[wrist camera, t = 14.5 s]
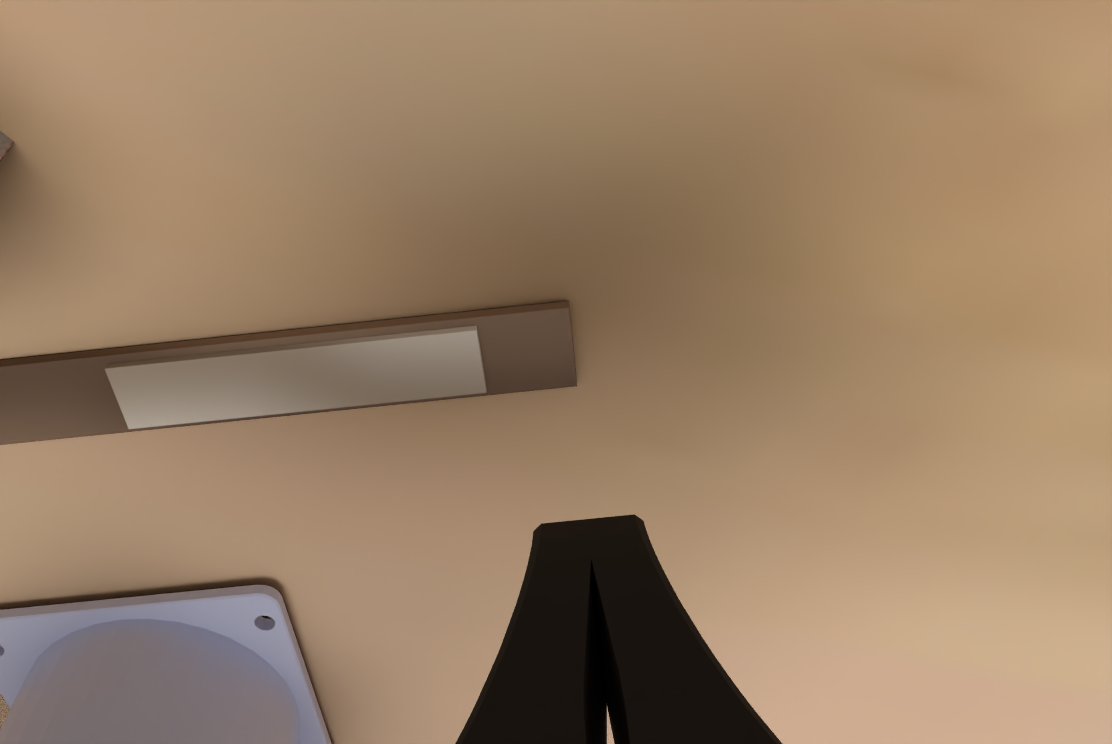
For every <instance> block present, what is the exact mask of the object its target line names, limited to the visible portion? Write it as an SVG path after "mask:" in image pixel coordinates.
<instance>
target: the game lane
mask: <svg viewBox="0 0 1112 744" xmlns="http://www.w3.org/2000/svg"><path fill="white" fill-rule="evenodd" d="M573 386H577V378H576V369H575V359H574V350H573V340H572V331H571V321H570V312H569V302H568V301H563V302H554V303H544V304H534V305H525V306H515V307H506V308H496V309H486V310H477V311H467V312H458V313H448V314H438V315H429V316H419V317H409V318H400V319H390V320H381V321H371V322H361V323H352V324H342V325H333V326H323V327H313V328H304V329H294V330H284V331H275V332H265V333H256V334H246V335H236V336H227V337H217V338H208V339H198V340H188V341H179V342H169V343H159V344H150V345H140V346H131V347H121V348H111V349H102V350H92V351H83V352H73V353H63V354H54V355H44V356H34V357H25V358H15V359H6V360H0V445H5V444H14V443H24V442H34V441H44V440H54V439H63V438H73V437H83V436H93V435H103V434H112V433H122V432H132V431H142V430H152V429H161V428H171V427H181V426H191V425H201V424H210V423H220V422H230V421H240V420H250V419H259V418H269V417H279V416H289V415H299V414H308V413H318V412H328V411H338V410H348V409H357V408H367V407H377V406H387V405H397V404H406V403H416V402H426V401H436V400H446V399H455V398H465V397H475V396H485V395H495V394H504V393H514V392H524V391H534V390H544V389H553V388H563V387H573Z"/></svg>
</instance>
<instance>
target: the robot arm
mask: <svg viewBox="0 0 1112 744" xmlns="http://www.w3.org/2000/svg"><path fill="white" fill-rule="evenodd" d="M261 616H269V617H271V618H272V619H266V618H263V617H261ZM0 693H1V695H2V697H3V698H4V700H5V702H6V703H7V705H8V707H9V709H10V710H9V712H8V714H7V716H6V718H5V720H4V722H3V724H2V726H1V728H0V744H331V741H330V738H329V735H328V732H327V729H326V726H325V723H324V720H323V717H322V714H321V711H320V708H319V705H318V702H317V699H316V696H315V693H314V690H313V687H312V684H311V681H310V678H309V675H308V672H307V669H306V666H305V663H304V660H303V658H302V655H301V652H300V649H299V646H298V643H297V640H296V637H295V634H294V631H293V628H292V625H291V622H290V619H289V616H288V613H287V610H286V607H285V604H284V601H283V598H282V596H281V594H280V593H279V592H278V591H277V590H276V589H274V588H273V587H270V586H267V585H249V586H239V587H228V588H218V589H208V590H198V591H188V592H178V593H167V594H157V595H147V596H137V597H127V598H116V599H106V600H96V601H86V602H76V603H66V604H55V605H45V606H35V607H25V608H15V609H5V610H0ZM607 707H608V712H609V717H610V723H611V728H612V733H613V738H614V743H615V744H782V743H781V742H780V740H779V739H778V738H777V737H776V736H775V734H774V733H773V732H772V731H771V730H770V728H769V727H768V726H767V725H766V724H765V722H764V721H763V720H762V719H761V718H760V716H759V715H758V714H757V713H756V711H755V710H754V709H753V708H752V706H751V705H750V704H749V703H748V701H747V700H746V699H745V697H744V696H743V695H742V693H741V692H740V691H739V689H738V688H737V687H736V685H735V684H734V683H733V681H732V680H731V678H730V677H729V676H728V674H727V673H726V671H725V670H724V669H723V667H722V666H721V664H720V663H719V662H718V660H717V659H716V657H715V656H714V654H713V653H712V651H711V650H710V648H709V647H708V645H707V644H706V642H705V641H704V639H703V638H702V636H701V635H700V633H699V631H698V630H697V628H696V627H695V625H694V623H693V622H692V620H691V618H690V617H689V615H688V614H687V612H686V610H685V609H684V607H683V605H682V604H681V602H680V600H679V599H678V597H677V595H676V593H675V591H674V590H673V588H672V586H671V584H670V582H669V580H668V578H667V576H666V574H665V573H664V571H663V569H662V567H661V565H660V562H659V560H658V558H657V556H656V554H655V552H654V549H653V547H652V545H651V542H650V539H649V537H648V534H647V531H646V528H645V525H644V521H643V520H641V519H640V518H639V517H637V516H636V515H625V516H615V517H605V518H595V519H585V520H575V521H565V522H554V523H544V524H541V525H540V526H539V527H538V528H537V529H535V530H534V532H533V540H532V547H531V552H530V557H529V562H528V566H527V570H526V573H525V577H524V581H523V584H522V587H521V591H520V594H519V597H518V600H517V604H516V606H515V609H514V612H513V615H512V617H511V620H510V623H509V626H508V628H507V631H506V634H505V637H504V639H503V642H502V645H501V647H500V650H499V652H498V655H497V657H496V660H495V662H494V664H493V666H492V669H491V671H490V673H489V675H488V678H487V680H486V682H485V684H484V687H483V689H482V691H481V693H480V696H479V698H478V700H477V702H476V704H475V707H474V709H473V711H472V713H471V715H470V717H469V719H468V721H467V723H466V725H465V727H464V729H463V730H462V732H461V734H460V736H459V738H458V740H457V742H456V744H607Z"/></svg>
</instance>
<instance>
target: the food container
mask: <svg viewBox="0 0 1112 744" xmlns="http://www.w3.org/2000/svg"><path fill="white" fill-rule="evenodd" d="M13 143H14V142H13V141H12V140H11V139H9V138H8V137H7V136H6V135H5V134H3V133H2V132H1V131H0V160H1V159H2V158H3V156H4V155H5V154H6V152H7V151H8V150H9V148H10V147H11V146H12V144H13Z"/></svg>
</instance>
